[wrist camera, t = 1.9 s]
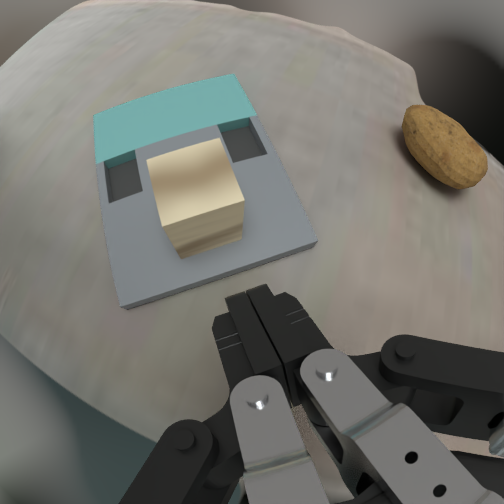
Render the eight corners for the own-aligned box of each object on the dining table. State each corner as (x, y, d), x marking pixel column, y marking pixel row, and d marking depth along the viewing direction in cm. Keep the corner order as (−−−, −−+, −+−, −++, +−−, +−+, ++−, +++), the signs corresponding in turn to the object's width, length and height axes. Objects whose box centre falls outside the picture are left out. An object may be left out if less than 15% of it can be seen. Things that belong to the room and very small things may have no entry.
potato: (401, 117, 38) (423, 83, 30) (468, 175, 36) (497, 148, 28) (378, 149, 35) (403, 111, 28) (454, 215, 33) (490, 189, 26)
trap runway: (313, 247, 31) (318, 240, 29) (127, 309, 27) (120, 306, 26) (233, 83, 37) (233, 73, 36) (98, 124, 34) (93, 115, 32)
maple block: (241, 239, 28) (244, 200, 21) (181, 259, 27) (162, 226, 20) (222, 187, 30) (219, 137, 22) (165, 204, 29) (146, 159, 21)
